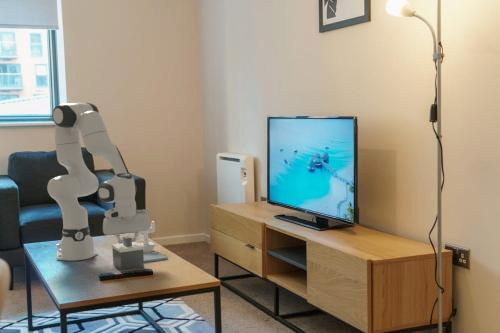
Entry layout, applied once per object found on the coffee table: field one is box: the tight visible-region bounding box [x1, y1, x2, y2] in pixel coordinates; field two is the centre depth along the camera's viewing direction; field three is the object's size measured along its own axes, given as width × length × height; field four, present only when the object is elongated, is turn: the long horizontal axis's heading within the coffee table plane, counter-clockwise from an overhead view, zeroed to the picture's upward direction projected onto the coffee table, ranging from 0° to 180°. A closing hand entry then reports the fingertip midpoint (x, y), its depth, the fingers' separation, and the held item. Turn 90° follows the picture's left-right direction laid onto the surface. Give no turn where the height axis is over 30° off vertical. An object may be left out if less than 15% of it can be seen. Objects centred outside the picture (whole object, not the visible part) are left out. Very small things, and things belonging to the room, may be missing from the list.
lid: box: [111, 235, 144, 252], centre depth 289 cm, size 13×11×6 cm
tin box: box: [112, 248, 145, 272], centre depth 290 cm, size 12×10×8 cm
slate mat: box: [143, 251, 169, 264], centre depth 304 cm, size 14×12×1 cm
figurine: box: [136, 220, 156, 253], centre depth 317 cm, size 7×9×15 cm
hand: (127, 242), depth 289 cm, fingers open, 5 cm apart
